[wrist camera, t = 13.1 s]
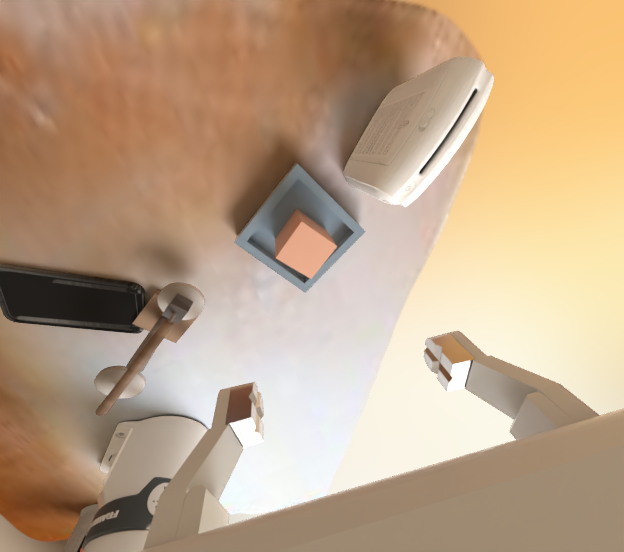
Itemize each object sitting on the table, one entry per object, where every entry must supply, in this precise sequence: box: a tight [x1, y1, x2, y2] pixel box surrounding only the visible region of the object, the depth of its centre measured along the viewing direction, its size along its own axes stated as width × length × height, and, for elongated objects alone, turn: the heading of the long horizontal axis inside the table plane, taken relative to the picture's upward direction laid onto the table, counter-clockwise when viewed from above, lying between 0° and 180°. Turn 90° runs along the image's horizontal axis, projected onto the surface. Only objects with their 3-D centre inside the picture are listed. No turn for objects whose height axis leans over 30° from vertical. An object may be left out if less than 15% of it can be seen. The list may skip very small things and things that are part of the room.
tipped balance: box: [94, 283, 205, 416], centre depth 28 cm, size 17×6×11 cm, turn 137°
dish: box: [234, 163, 365, 292], centre depth 28 cm, size 11×11×2 cm
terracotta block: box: [275, 208, 337, 279], centre depth 26 cm, size 4×4×6 cm
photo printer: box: [343, 57, 494, 207], centre depth 21 cm, size 10×4×12 cm, turn 149°
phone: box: [0, 265, 145, 333], centre depth 29 cm, size 8×1×15 cm
